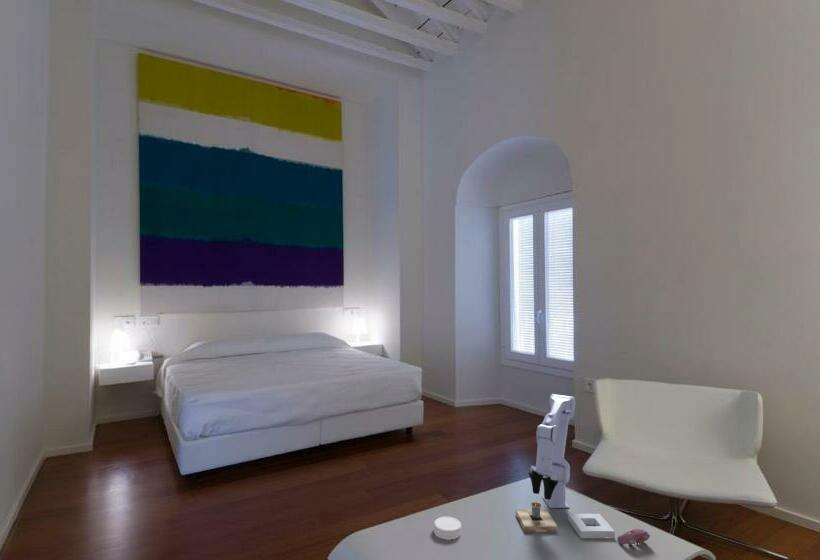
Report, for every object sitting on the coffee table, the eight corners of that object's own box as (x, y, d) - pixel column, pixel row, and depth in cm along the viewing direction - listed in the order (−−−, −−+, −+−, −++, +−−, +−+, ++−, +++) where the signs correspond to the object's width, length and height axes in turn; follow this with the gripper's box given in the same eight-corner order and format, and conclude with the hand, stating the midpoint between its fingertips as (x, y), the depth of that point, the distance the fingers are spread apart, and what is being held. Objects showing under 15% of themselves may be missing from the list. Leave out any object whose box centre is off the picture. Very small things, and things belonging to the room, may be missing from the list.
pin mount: (515, 514, 170) (515, 509, 170) (546, 514, 171) (546, 509, 171) (524, 532, 158) (524, 526, 158) (557, 532, 159) (557, 526, 159)
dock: (568, 520, 167) (568, 513, 167) (599, 520, 167) (599, 513, 167) (581, 538, 155) (581, 531, 155) (614, 538, 155) (614, 531, 155)
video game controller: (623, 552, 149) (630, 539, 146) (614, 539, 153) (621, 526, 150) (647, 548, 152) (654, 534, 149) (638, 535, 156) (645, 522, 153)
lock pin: (529, 520, 166) (529, 502, 166) (539, 520, 166) (539, 502, 166) (532, 525, 163) (532, 506, 163) (542, 525, 163) (542, 506, 163)
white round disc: (460, 542, 152) (460, 532, 152) (431, 538, 154) (431, 528, 154) (462, 527, 162) (462, 517, 162) (435, 524, 164) (435, 514, 164)
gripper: (525, 453, 172) (521, 490, 169) (546, 460, 158) (543, 501, 155) (540, 455, 174) (538, 491, 170) (563, 462, 160) (560, 502, 157)
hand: (541, 496), depth 163 cm, fingers open, 7 cm apart
